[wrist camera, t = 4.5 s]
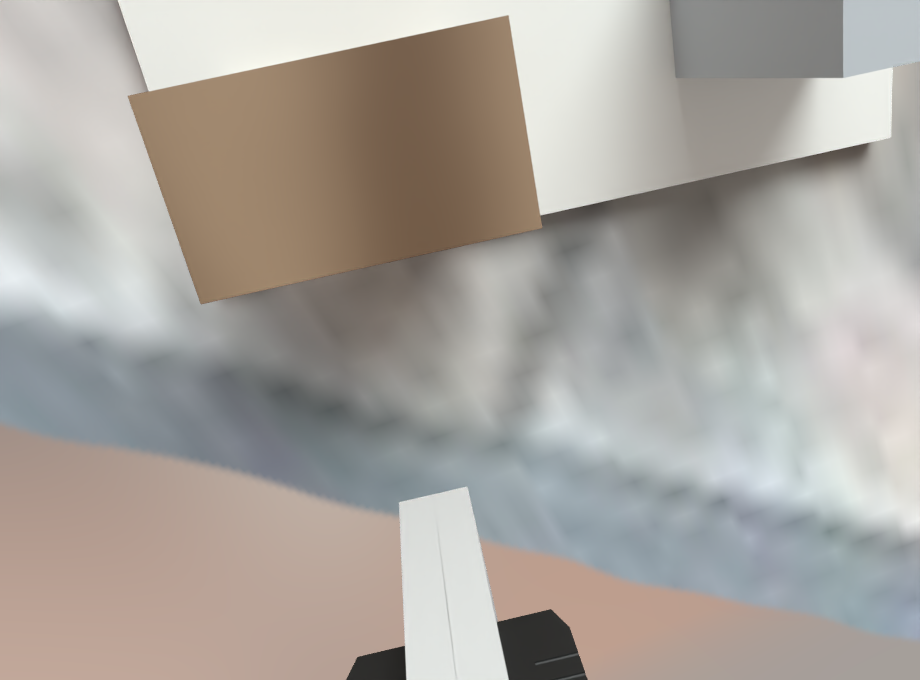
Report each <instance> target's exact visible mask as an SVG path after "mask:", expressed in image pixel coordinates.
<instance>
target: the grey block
mask: <svg viewBox="0 0 920 680" xmlns="http://www.w3.org/2000/svg"><path fill="white" fill-rule="evenodd" d="M669 2H670V14H671V26H672V38H673V50H674V62H675V75H676V78H846V77H850V76H855V75H860V74H864V73H869V72H873V71H878V70H882V69H887V68H892V67H896V66H901V65H905V64H910V63H914V62H919V61H920V0H669Z"/></svg>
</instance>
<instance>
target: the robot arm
mask: <svg viewBox="0 0 920 680" xmlns="http://www.w3.org/2000/svg"><path fill="white" fill-rule="evenodd" d="M399 511H400V535H401V559H402V584H403V608H404V630H405V631H404V632H405V646H402V647H398V648H394V649H389V650H385V651H381V652H377V653H373V654H368V655H364V656H360V657H357V659H356V662H355V663H354V665H353V667H352V669H351V671H350V673H349V676H348V677H347V680H587V677H586V675H585V671H584V668H583V665H582V662H581V659H580V656H579V654H578V651H577V648H576V645H575V642H574V639H573V636H572V633H571V630H570V628H569V626H567V624H566V623H564V622H563V621H562V620H561V619H560V618H559V617H558V616H557V615H556V614H555V613H554V612H553V611H552V610H551V609H550V610H546V611H542V612H538V613H534V614H529V615H525V616H521V617H516V618H512V619H508V620H504V621H499V622H498V621H497V616H496V611H495V607H494V602H493V597H492V593H491V588H490V583H489V579H488V575H487V570H486V566H485V562H484V557H483V553H482V548H481V544H480V540H479V535H478V531H477V527H476V522H475V518H474V513H473V509H472V505H471V500H470V496H469V492H468V487H463V488H459V489H455V490H450V491H446V492H442V493H437V494H433V495H429V496H424V497H420V498H416V499H411V500H407V501H403V502H399Z"/></svg>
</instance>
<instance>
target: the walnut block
mask: <svg viewBox="0 0 920 680" xmlns="http://www.w3.org/2000/svg"><path fill="white" fill-rule="evenodd" d="M128 98H129V101H130V104H131V107H132V110H133V112H134V115H135V118H136V121H137V124H138V127H139V130H140V132H141V135H142V138H143V141H144V144H145V147H146V149H147V152H148V155H149V158H150V161H151V164H152V167H153V169H154V172H155V175H156V178H157V181H158V184H159V187H160V189H161V192H162V195H163V198H164V201H165V204H166V206H167V209H168V212H169V215H170V218H171V221H172V224H173V226H174V229H175V232H176V235H177V238H178V241H179V244H180V246H181V249H182V252H183V255H184V258H185V261H186V263H187V266H188V269H189V272H190V275H191V278H192V281H193V283H194V286H195V289H196V292H197V295H198V298H199V301H200V303H201V304H204V303H209V302H213V301H218V300H222V299H227V298H231V297H236V296H240V295H245V294H249V293H253V292H258V291H262V290H267V289H271V288H276V287H280V286H285V285H289V284H294V283H298V282H303V281H307V280H312V279H316V278H321V277H325V276H330V275H334V274H339V273H343V272H348V271H352V270H357V269H361V268H366V267H370V266H375V265H379V264H384V263H388V262H393V261H397V260H402V259H406V258H411V257H415V256H420V255H424V254H428V253H433V252H437V251H442V250H446V249H451V248H455V247H460V246H464V245H469V244H473V243H478V242H482V241H487V240H491V239H496V238H500V237H505V236H509V235H514V234H518V233H523V232H527V231H532V230H536V229H541V228H542V223H541V217H540V210H539V204H538V198H537V191H536V185H535V179H534V172H533V166H532V160H531V153H530V147H529V141H528V135H527V128H526V122H525V116H524V109H523V103H522V97H521V90H520V84H519V78H518V71H517V65H516V59H515V53H514V46H513V40H512V34H511V27H510V21H509V15H507V16H502V17H497V18H493V19H488V20H483V21H478V22H474V23H469V24H464V25H460V26H455V27H450V28H445V29H441V30H436V31H431V32H427V33H422V34H417V35H412V36H408V37H403V38H398V39H394V40H389V41H384V42H380V43H375V44H370V45H365V46H361V47H356V48H351V49H347V50H342V51H337V52H332V53H328V54H323V55H318V56H314V57H309V58H304V59H300V60H295V61H290V62H285V63H281V64H276V65H271V66H267V67H262V68H257V69H252V70H248V71H243V72H238V73H234V74H229V75H224V76H219V77H215V78H210V79H205V80H201V81H196V82H191V83H187V84H182V85H177V86H172V87H168V88H163V89H158V90H154V91H149V92H144V93H139V94H135V95H130V96H128Z"/></svg>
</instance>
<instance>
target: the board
mask: <svg viewBox="0 0 920 680" xmlns="http://www.w3.org/2000/svg"><path fill="white" fill-rule="evenodd" d="M118 3H119V6H120V9H121V11H122V14H123V17H124V20H125V23H126V26H127V29H128V32H129V35H130V38H131V41H132V44H133V47H134V50H135V53H136V56H137V59H138V61H139V64H140V67H141V70H142V73H143V76H144V79H145V82H146V85H147V88H148V91H154V90H158V89H163V88H168V87H172V86H177V85H182V84H187V83H191V82H196V81H201V80H205V79H210V78H215V77H219V76H224V75H229V74H234V73H238V72H243V71H248V70H252V69H257V68H262V67H267V66H271V65H276V64H281V63H285V62H290V61H295V60H300V59H304V58H309V57H314V56H318V55H323V54H328V53H332V52H337V51H342V50H347V49H351V48H356V47H361V46H365V45H370V44H375V43H380V42H384V41H389V40H394V39H398V38H403V37H408V36H412V35H417V34H422V33H427V32H431V31H436V30H441V29H445V28H450V27H455V26H460V25H464V24H469V23H474V22H478V21H483V20H488V19H493V18H497V17H502V16H507V15H509V21H510V27H511V34H512V40H513V46H514V53H515V59H516V65H517V71H518V78H519V84H520V90H521V97H522V103H523V109H524V116H525V122H526V128H527V135H528V141H529V147H530V153H531V160H532V166H533V172H534V179H535V185H536V191H537V198H538V204H539V210H540V215H545V214H549V213H554V212H558V211H563V210H567V209H572V208H576V207H581V206H585V205H590V204H594V203H599V202H603V201H608V200H612V199H617V198H621V197H626V196H630V195H635V194H639V193H644V192H648V191H653V190H657V189H662V188H666V187H671V186H675V185H680V184H684V183H689V182H693V181H698V180H702V179H707V178H711V177H716V176H720V175H725V174H729V173H734V172H738V171H743V170H747V169H752V168H756V167H761V166H765V165H770V164H774V163H779V162H783V161H788V160H792V159H797V158H801V157H806V156H810V155H815V154H819V153H824V152H828V151H833V150H837V149H842V148H846V147H851V146H855V145H860V144H864V143H869V142H873V141H878V140H882V139H887V138H891V115H892V70H893V67H892V68H887V69H882V70H878V71H873V72H869V73H864V74H860V75H855V76H850V77H846V78H676V75H675V62H674V50H673V38H672V26H671V14H670V2H669V0H118Z"/></svg>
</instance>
